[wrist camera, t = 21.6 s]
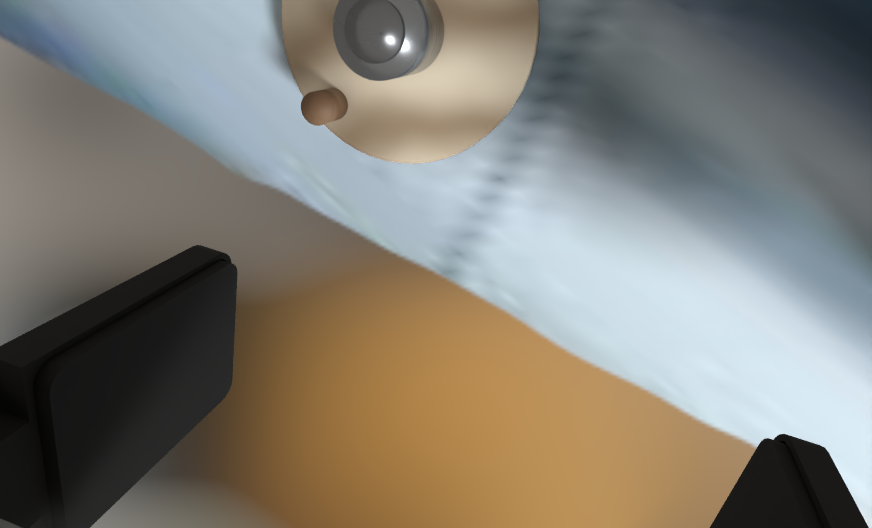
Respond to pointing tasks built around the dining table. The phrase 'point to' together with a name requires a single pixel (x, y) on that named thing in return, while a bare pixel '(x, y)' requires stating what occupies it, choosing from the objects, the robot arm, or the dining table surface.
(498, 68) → the turntable
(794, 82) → the dining table surface
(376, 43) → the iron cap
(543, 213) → the dining table surface
